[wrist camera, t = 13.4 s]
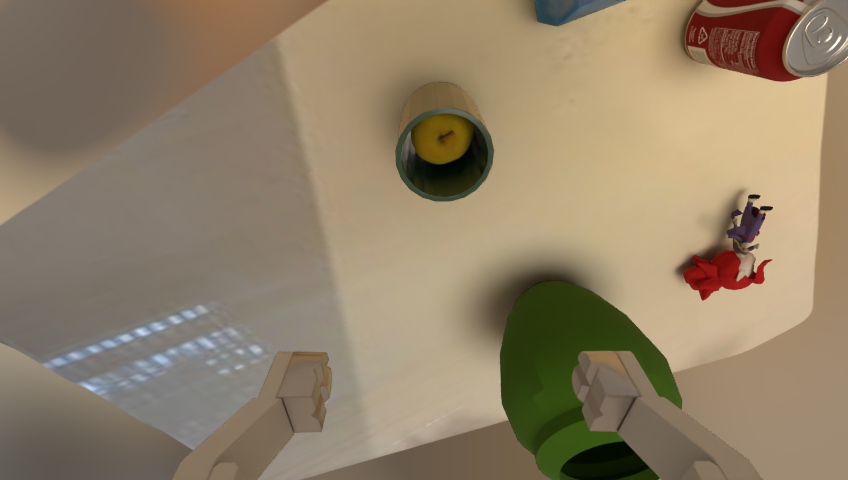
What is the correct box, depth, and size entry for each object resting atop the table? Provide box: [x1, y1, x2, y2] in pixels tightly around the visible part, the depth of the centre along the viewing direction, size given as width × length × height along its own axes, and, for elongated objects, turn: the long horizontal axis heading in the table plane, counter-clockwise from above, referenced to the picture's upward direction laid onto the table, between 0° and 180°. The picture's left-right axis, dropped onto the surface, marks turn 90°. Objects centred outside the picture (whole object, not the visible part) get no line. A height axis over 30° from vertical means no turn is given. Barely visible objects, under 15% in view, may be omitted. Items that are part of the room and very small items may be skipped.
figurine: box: [683, 195, 773, 300], centre depth 48 cm, size 6×8×15 cm
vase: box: [500, 281, 682, 480], centre depth 46 cm, size 20×20×24 cm
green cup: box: [395, 82, 494, 201], centre depth 37 cm, size 9×9×11 cm
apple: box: [411, 114, 474, 164], centre depth 37 cm, size 6×6×8 cm
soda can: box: [685, 0, 848, 82], centre depth 31 cm, size 7×7×12 cm
